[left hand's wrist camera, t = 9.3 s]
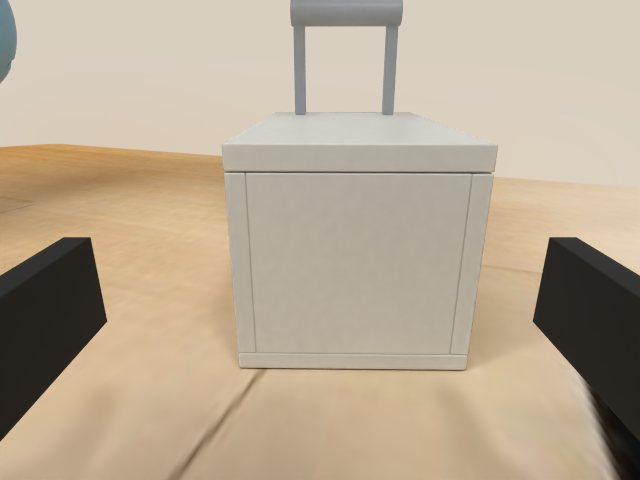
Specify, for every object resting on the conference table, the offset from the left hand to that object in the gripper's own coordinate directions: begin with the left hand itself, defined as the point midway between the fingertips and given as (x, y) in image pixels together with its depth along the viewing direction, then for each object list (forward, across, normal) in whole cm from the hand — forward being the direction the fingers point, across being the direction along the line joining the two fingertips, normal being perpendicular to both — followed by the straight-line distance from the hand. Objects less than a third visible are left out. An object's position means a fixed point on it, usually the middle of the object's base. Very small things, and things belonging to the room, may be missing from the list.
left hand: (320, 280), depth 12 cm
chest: (+13, +2, -6) cm, 14 cm away
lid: (+13, +2, +2) cm, 13 cm away
